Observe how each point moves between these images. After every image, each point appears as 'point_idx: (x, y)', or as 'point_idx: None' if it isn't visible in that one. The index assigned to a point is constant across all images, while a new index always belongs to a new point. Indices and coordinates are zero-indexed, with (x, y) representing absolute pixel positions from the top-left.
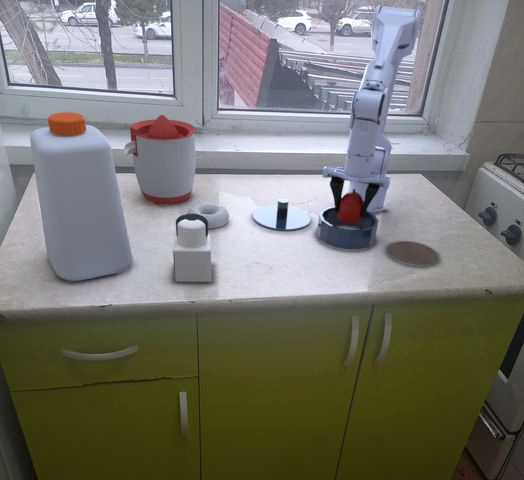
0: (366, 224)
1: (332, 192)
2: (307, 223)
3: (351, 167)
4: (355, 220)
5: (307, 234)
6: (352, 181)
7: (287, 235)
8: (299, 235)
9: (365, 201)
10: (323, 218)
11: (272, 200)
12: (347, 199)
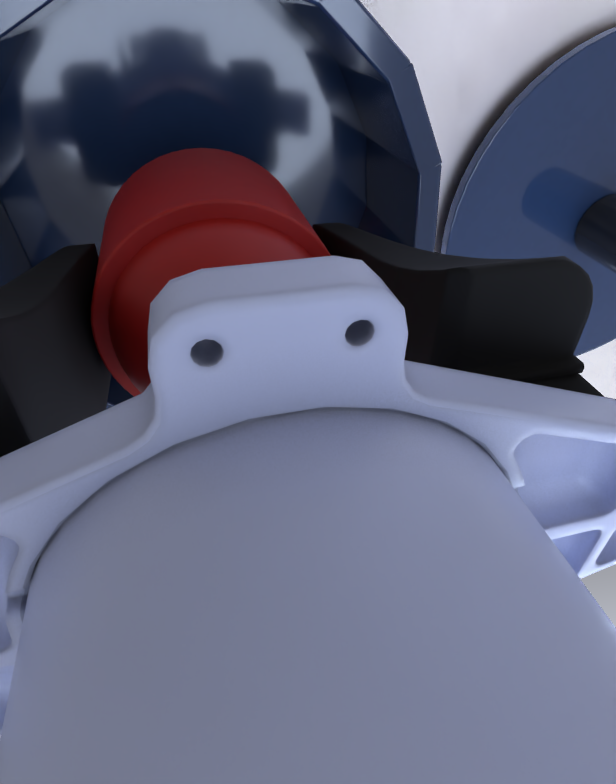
0: None
1: (471, 257)
2: (459, 212)
3: (501, 600)
4: (125, 188)
5: (435, 108)
6: (281, 263)
7: (561, 15)
8: (484, 62)
9: (35, 296)
10: (403, 118)
11: (608, 387)
12: (269, 260)
